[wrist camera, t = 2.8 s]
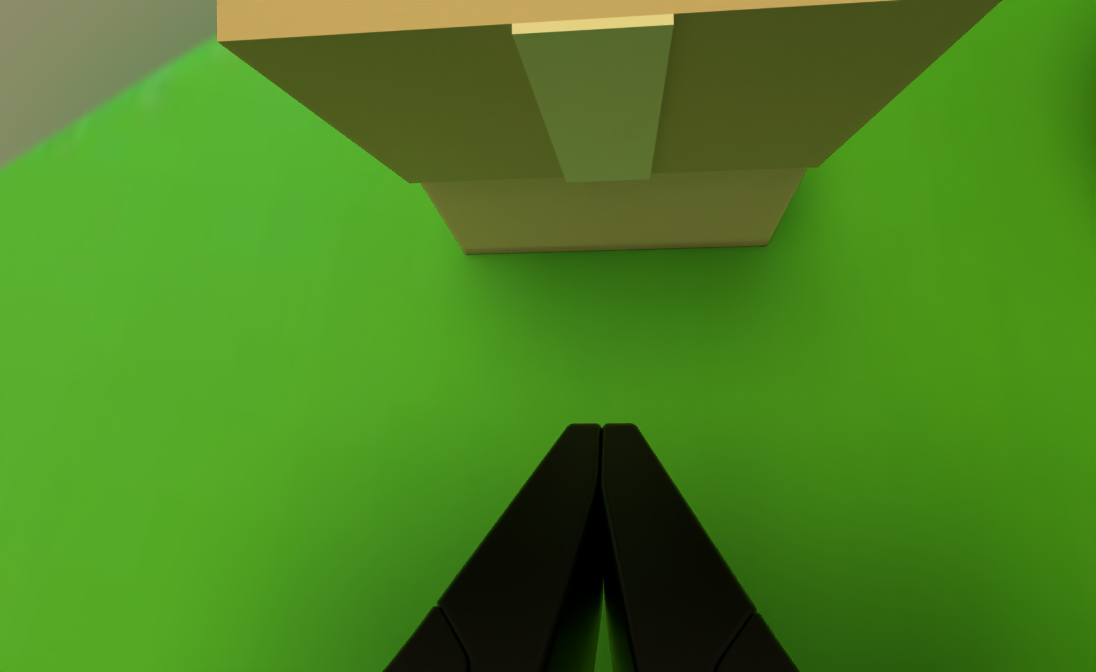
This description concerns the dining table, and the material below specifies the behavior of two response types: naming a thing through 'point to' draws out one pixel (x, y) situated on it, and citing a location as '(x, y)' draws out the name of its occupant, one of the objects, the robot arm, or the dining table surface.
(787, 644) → the dining table surface
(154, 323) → the dining table surface
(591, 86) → the flap
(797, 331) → the dining table surface
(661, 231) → the carton
